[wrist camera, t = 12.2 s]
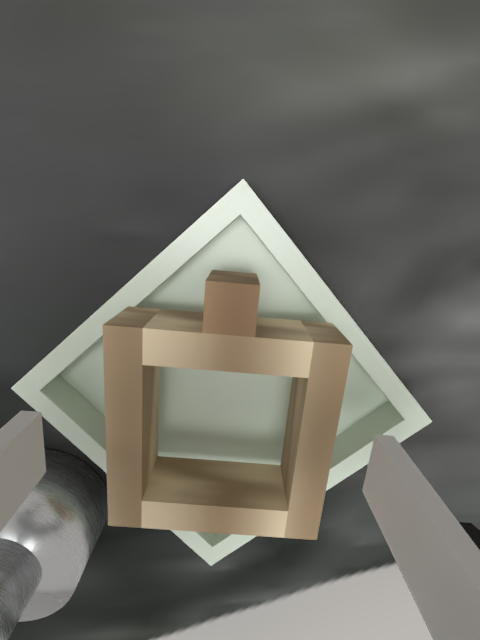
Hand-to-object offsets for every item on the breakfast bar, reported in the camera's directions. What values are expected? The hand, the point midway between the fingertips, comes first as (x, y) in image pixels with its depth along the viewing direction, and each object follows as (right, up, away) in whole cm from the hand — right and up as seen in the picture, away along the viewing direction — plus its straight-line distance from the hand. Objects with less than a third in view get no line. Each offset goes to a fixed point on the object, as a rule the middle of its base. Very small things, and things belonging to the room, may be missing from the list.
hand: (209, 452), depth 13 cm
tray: (0, +2, +6) cm, 6 cm away
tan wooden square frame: (0, +1, +4) cm, 4 cm away
